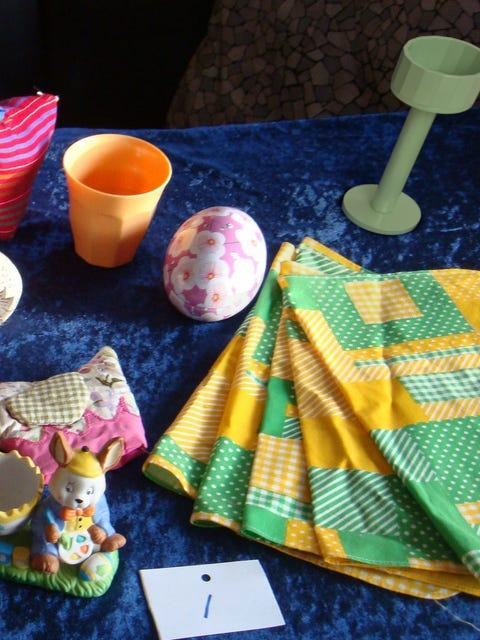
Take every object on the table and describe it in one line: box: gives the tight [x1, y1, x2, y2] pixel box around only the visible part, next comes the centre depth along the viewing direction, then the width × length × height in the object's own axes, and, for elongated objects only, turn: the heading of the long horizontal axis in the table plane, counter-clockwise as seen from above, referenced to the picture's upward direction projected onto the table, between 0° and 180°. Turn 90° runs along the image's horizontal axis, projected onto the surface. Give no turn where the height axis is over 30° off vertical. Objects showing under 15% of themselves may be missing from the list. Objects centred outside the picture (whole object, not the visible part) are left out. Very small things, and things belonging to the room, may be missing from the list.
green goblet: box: [341, 35, 480, 236], centre depth 105 cm, size 10×10×23 cm
